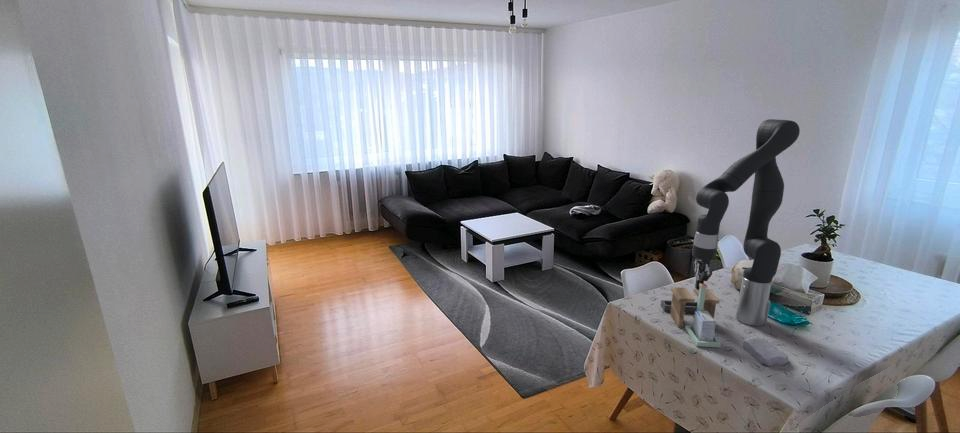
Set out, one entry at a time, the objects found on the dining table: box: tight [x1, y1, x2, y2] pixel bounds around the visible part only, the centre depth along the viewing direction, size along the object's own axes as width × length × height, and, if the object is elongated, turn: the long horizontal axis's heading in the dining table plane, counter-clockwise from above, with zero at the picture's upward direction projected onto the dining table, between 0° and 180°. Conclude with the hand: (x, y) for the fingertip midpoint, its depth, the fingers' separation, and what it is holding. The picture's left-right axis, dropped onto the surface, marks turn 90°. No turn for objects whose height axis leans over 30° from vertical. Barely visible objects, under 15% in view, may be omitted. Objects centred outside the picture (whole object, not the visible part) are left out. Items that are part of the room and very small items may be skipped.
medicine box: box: [692, 311, 717, 342], centre depth 154 cm, size 8×4×9 cm, turn 173°
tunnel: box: [669, 286, 720, 329], centre depth 164 cm, size 14×10×12 cm
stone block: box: [741, 337, 789, 367], centre depth 144 cm, size 12×5×10 cm
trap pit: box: [660, 299, 698, 314], centre depth 175 cm, size 15×5×2 cm, turn 83°
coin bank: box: [730, 259, 754, 291], centre depth 195 cm, size 16×17×13 cm
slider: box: [685, 283, 722, 348], centre depth 152 cm, size 8×12×18 cm, turn 173°
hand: (698, 289), depth 159 cm, fingers closed
